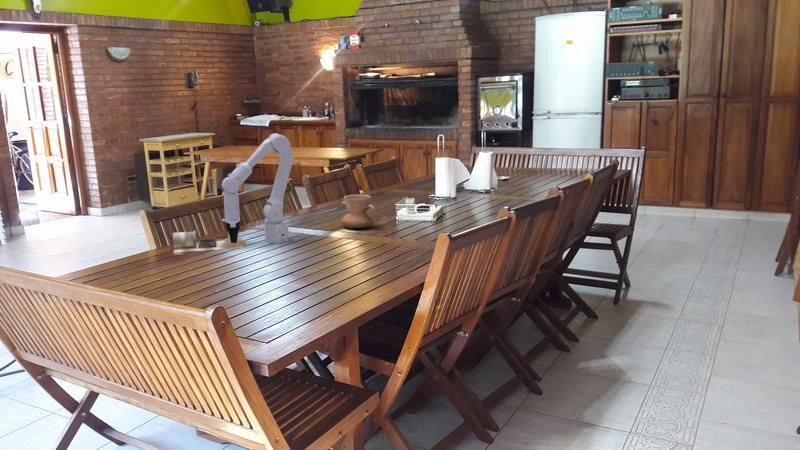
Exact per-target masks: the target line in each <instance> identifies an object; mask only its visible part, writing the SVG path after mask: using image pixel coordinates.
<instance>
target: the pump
mask: <svg viewBox="0 0 800 450" xmlns="http://www.w3.org/2000/svg"><path fill="white" fill-rule="evenodd" d="M227 236H228V237H227V238H228V239H227V240H229V245H238V244H239V240H240V238H239V237H240V236H239V232H238V237H237V243H231V241H230V236H229V233H228V232H227Z"/></svg>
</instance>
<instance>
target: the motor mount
mask: <svg viewBox="0 0 800 450" xmlns="http://www.w3.org/2000/svg"><path fill="white" fill-rule="evenodd" d="M196 232H197V230H193V231H181V232H172V245H173V252H172V253H173V256H177V255H187V252H200V251H201V252H202V251H203V252H204V251H215V250H216V251H218V250H231V249H233V250H234V249H244V248H245V249H247V245H246V239H239V244H238V245H229V240H228V239H227V240H217V238H216V237H215V238H204V239H203V238H202V239H198V242H197V233H196Z"/></svg>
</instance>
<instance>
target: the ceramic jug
mask: <svg viewBox="0 0 800 450" xmlns="http://www.w3.org/2000/svg"><path fill="white" fill-rule="evenodd" d="M371 198H372V196H371V195H368V194H349V195H345V196H344V197H343V201H342V202H341V204H342V205H345V208H346V210H347V212H348V213H347V214H345V215H344V216H343V217H342V218H341V223H342V225H343V226H344V227H345V228H347V229H352V228H362V229H366V228H365V227H367V228H368V227H371V226H372V225H374V223H375V222H374V221H375V216H376V207H375V206H374V205H373V204H371V200H372V199H371ZM369 209H371V215H370V214H369V212H368V211H369Z"/></svg>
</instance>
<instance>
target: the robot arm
mask: <svg viewBox="0 0 800 450" xmlns="http://www.w3.org/2000/svg"><path fill="white" fill-rule="evenodd" d="M274 152H276V154H277V156H278V158H279V161H278V163H279V164H278V167H277V170H276V175H275V179H274V182H273V185H272V190H271V195H270V196H269V198H268V199H267V203H266V204H265V205H264V207H263V210H262V213H263V215H264V216H265V218H264V221H263V222H264V235H265V237H264V239H265V240H264V241H265V242H267V243H273V244H282V243H286V242H289V241H290V240H289V238H290V236H289V227H288V225H287V224H286V223H284V220H283V218H284V211H283V209H284V197H285V193H286V190H287V185H288V181H289V179H290V173H291V170H292V167H293V162H294V160H295V159H294V158H295V157H294V154H293V153H294V152H293V150H292V146H291V142H290V141H289V139H288V138H287V136H285V135H283V134H280V133H276V132H274V133H271V134H270V135H269V136H268V138H266V139H264V141H262V143H261V144H260V145H259V146H258V147H257V148H256V150H255V151H254V152H253V153H252V154H251V156H250V157H249V158H248V159H247V160H246V161H245V162H243V161H242V162H239V163H237V164H236V165H235V169H233V170H232V172H231V173H228V174H227V177H225V178H224V179H223V180H222V181H221V182H222V183H221V188H222V189H223V207H224V208H223V210H224V218H222V219H221V221H222V222H225V229H226V230H227V234H228V233H229V236H230V241H231V243H237V237H238V233H239V232H240V229H241V225H240V224H241V222H240V221H241V216H240V215H241V214H240V197H239V190H240V186H241V185H242V184H243V183H244V182H245V181H246V180H247V179H248V178H249V177H250V175H251V174H252V173H253V168H254V166H256V165H257V164H258V162H260V161H261V160H262V159H263V158H264V156H265V155H267V154H271V153H274Z"/></svg>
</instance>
